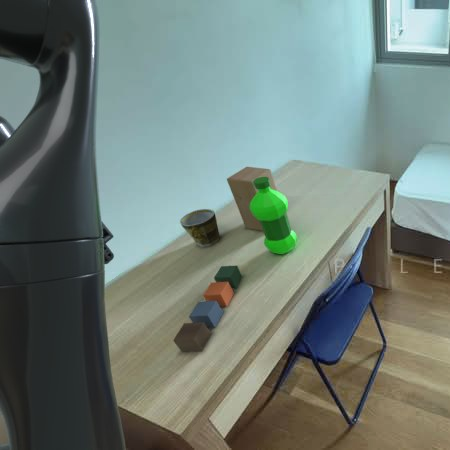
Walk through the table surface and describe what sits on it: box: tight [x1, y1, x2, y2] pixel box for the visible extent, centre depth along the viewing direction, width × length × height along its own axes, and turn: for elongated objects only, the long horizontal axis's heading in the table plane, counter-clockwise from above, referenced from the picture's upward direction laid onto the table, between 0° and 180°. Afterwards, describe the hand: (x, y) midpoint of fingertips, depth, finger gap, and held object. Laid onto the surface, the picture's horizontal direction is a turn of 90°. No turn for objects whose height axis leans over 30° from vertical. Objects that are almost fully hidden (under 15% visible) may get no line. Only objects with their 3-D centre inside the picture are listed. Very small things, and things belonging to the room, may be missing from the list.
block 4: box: [172, 322, 212, 353], centre depth 71 cm, size 5×5×5 cm
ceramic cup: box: [179, 208, 221, 248], centre depth 102 cm, size 13×10×10 cm
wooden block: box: [226, 166, 278, 232], centre depth 108 cm, size 10×10×20 cm
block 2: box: [202, 281, 235, 308], centre depth 82 cm, size 5×5×5 cm
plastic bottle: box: [250, 177, 298, 255], centre depth 93 cm, size 10×10×25 cm
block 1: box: [213, 265, 243, 290], centre depth 87 cm, size 5×5×5 cm
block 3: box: [188, 300, 224, 329], centre depth 77 cm, size 5×5×5 cm
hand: (85, 262), depth 57 cm, fingers open, 8 cm apart
